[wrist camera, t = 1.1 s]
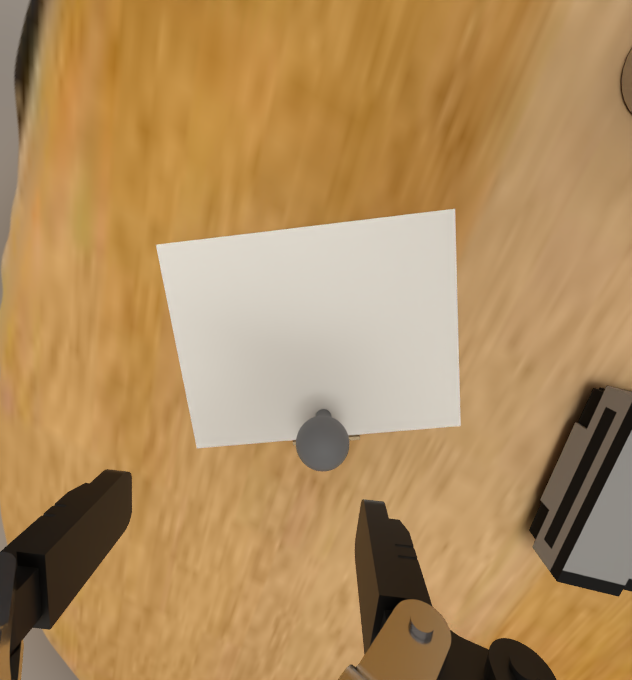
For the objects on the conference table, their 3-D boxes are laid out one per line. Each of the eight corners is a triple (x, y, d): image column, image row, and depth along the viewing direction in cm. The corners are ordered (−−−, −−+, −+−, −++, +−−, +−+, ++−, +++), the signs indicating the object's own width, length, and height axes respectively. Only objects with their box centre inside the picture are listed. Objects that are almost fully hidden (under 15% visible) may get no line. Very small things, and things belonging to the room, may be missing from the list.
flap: (440, 215, 30) (495, 191, 20) (447, 413, 34) (496, 476, 24) (175, 247, 31) (104, 239, 21) (210, 434, 35) (164, 501, 25)
